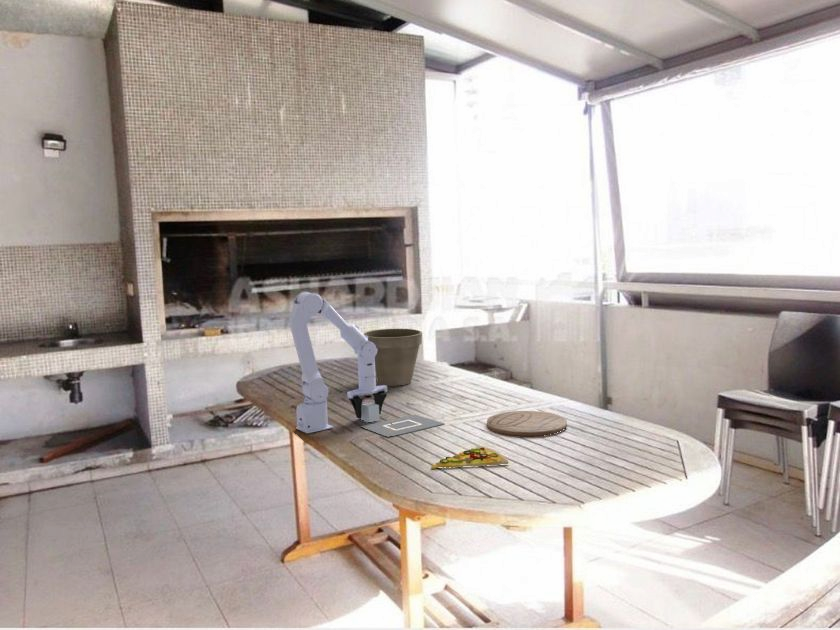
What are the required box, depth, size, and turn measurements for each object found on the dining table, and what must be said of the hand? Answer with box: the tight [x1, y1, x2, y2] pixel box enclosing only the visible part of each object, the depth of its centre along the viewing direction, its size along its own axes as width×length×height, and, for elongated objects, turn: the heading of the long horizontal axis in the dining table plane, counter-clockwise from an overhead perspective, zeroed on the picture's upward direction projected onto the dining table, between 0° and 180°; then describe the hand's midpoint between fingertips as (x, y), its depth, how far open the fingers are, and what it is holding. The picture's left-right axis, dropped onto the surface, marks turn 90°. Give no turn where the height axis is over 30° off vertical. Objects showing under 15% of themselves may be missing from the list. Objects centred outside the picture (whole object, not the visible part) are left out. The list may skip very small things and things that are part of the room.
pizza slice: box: [430, 445, 509, 469], centre depth 179 cm, size 16×21×3 cm
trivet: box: [486, 410, 568, 438], centre depth 212 cm, size 25×25×2 cm
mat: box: [360, 414, 445, 438], centre depth 217 cm, size 22×16×1 cm
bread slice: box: [364, 371, 380, 397], centre depth 264 cm, size 15×3×8 cm, turn 168°
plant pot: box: [363, 328, 423, 387], centre depth 282 cm, size 25×25×22 cm
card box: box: [357, 400, 380, 423], centre depth 225 cm, size 4×7×6 cm, turn 37°
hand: (368, 415), depth 225 cm, fingers open, 7 cm apart
